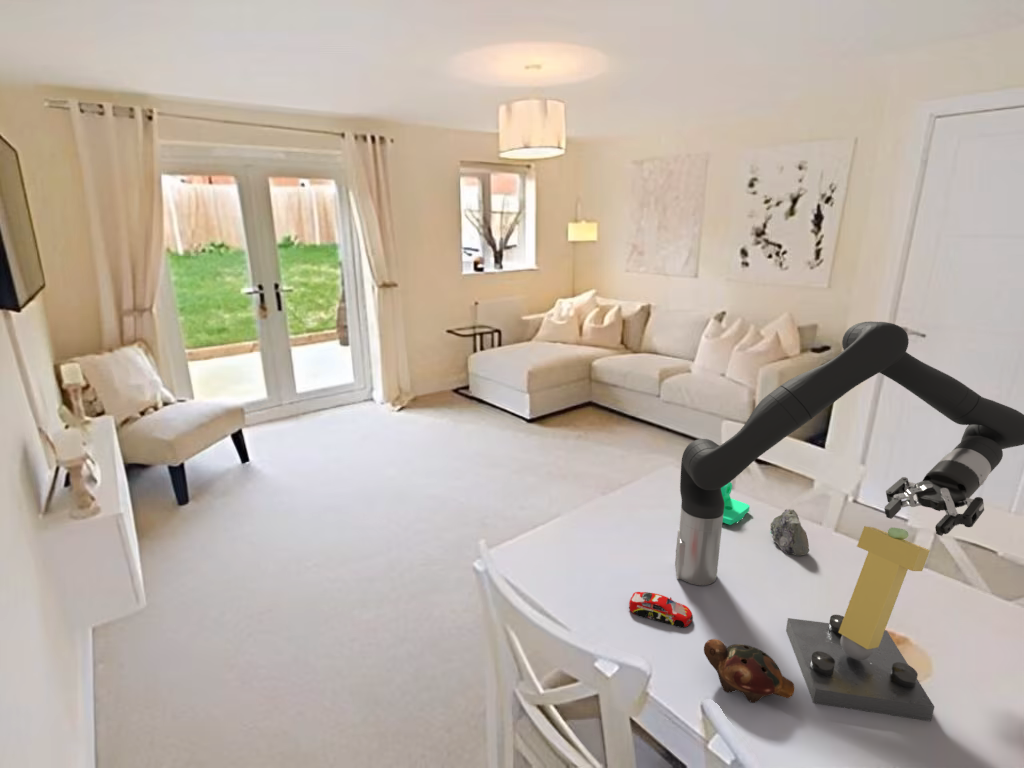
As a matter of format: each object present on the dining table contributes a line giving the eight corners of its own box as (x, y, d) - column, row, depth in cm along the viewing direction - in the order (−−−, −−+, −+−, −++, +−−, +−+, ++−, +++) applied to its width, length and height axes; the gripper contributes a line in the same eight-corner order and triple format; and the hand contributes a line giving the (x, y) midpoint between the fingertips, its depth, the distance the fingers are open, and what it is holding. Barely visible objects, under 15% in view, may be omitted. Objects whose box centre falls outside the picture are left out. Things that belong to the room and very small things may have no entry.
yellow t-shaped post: (872, 675, 94) (924, 539, 93) (820, 643, 102) (867, 517, 100) (883, 672, 97) (933, 540, 96) (832, 641, 105) (878, 518, 103)
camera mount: (730, 528, 149) (734, 495, 146) (704, 518, 154) (707, 485, 151) (750, 513, 157) (754, 481, 154) (724, 504, 162) (728, 472, 159)
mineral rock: (772, 525, 150) (777, 492, 147) (816, 538, 144) (822, 504, 141) (760, 546, 141) (764, 511, 138) (806, 561, 134) (811, 525, 131)
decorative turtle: (700, 657, 105) (707, 622, 102) (786, 685, 99) (795, 648, 97) (696, 694, 96) (704, 656, 94) (791, 726, 90) (801, 687, 88)
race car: (694, 616, 116) (695, 600, 115) (690, 632, 111) (692, 616, 110) (632, 598, 122) (633, 583, 120) (626, 614, 117) (627, 598, 116)
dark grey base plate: (813, 702, 94) (817, 679, 93) (785, 629, 112) (788, 608, 110) (930, 721, 91) (937, 697, 89) (883, 642, 108) (888, 621, 106)
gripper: (915, 450, 112) (869, 494, 106) (1001, 470, 99) (954, 521, 94) (920, 479, 114) (875, 524, 109) (1004, 502, 102) (959, 553, 96)
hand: (912, 522), depth 101 cm, fingers open, 8 cm apart
